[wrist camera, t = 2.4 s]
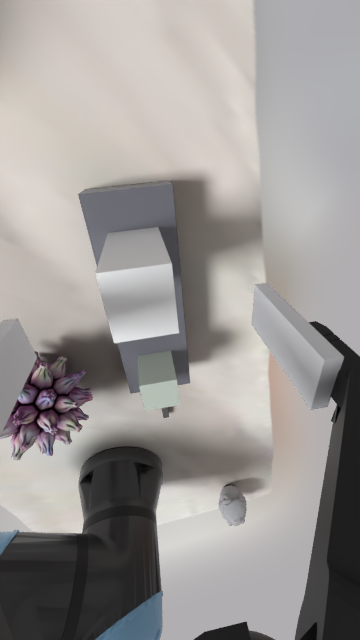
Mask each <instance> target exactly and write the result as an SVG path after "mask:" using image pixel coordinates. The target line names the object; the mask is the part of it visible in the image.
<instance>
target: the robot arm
mask: <svg viewBox="0 0 360 640" xmlns="http://www.w3.org/2000/svg"><path fill="white" fill-rule="evenodd" d="M252 326H253V327H254V329H255V330H256V332H257V333H258V334H259V336H260V337H261V339H262V340H263V342H264V343H265V345H266V346H267V347H268V349H269V350H270V352H271V353H272V355H273V356H274V357H275V359H276V360H277V362H278V363H279V365H280V366H281V368H282V369H283V371H284V372H285V374H286V375H287V376H288V378H289V379H290V381H291V382H292V383H293V385H294V386H295V388H296V389H297V391H298V392H299V394H300V395H301V397H302V398H303V399H304V401H305V402H306V404H307V405H308V407H309V408H310V410H312V409H318V408H323V407H327V406H328V404H329V401H330V398H331V397H332V398H333V400H334V401H335V402H336V403H337V406H336V409H335V411H334V414H333V417H332V420H331V421H332V422H333V427H332V432H331V439H330V445H329V451H328V457H327V463H326V469H325V475H324V481H323V487H322V494H321V499H320V506H319V512H318V518H317V525H316V530H315V537H314V543H313V549H312V554H311V560H310V567H309V573H308V579H307V585H306V591H305V596H304V600H303V603H302V607H301V610H300V615H299V619H298V624H297V630H296V636H295V640H360V357H359V356H358V355H357V354H356V353H355V352H354V351H353V350H352V349H351V348H350V347H348V346H347V345H346V344H345V343H344V342H343V341H342V340H340V338H338V337H337V336H336V335H334V333H333V332H332V331H331V330H330V329H328V328H327V327H326V326H324V325H322V324H320V323H318V322H316V321H315V322H307V320H305V319H304V318H303V317H302V316H301V315H300V314H299V313H298V312H297V311H296V310H295V309H294V308H293V307H292V306H291V305H290V304H289V303H288V302H287V301H286V300H285V299H284V298H283V297H282V296H281V295H280V294H279V293H278V292H277V291H275V290H274V289H273V288H272V287H271V286H270V285H269V284H268V283H262V284H255V287H254V300H253V313H252ZM36 359H37V356H36V354H35V352H34V350H33V348H32V346H31V344H30V342H29V340H28V338H27V336H26V334H25V332H24V330H23V328H22V326H21V324H20V322H19V320H18V318H17V319H10V320H3V321H2V322H1V324H0V436H1V434H2V432H3V429H4V427H5V425H6V423H7V421H8V419H9V417H10V415H11V412H12V410H13V408H14V406H15V404H16V402H17V400H18V397H19V395H20V393H21V391H22V389H23V387H24V385H25V383H26V380H27V378H28V376H29V374H30V372H31V370H32V368H33V366H34V363H35V361H36ZM162 478H163V474H162V464H161V461H160V459H159V458H158V457H157V456H156V455H155V454H153V453H152V452H150V451H147V450H144V449H140V448H134V447H121V448H114V449H109V450H106V451H103V452H100V453H98V454H96V455H94V456H93V457H91V458H90V459H88V460H87V461H86V462H85V463H84V465H83V466H82V468H81V471H80V477H79V493H80V499H81V505H82V511H83V517H84V524H83V532H82V534H76V533H37V532H19V530H15V531H13V532H0V640H159V639H160V637H161V633H162V596H163V592H162V591H161V578H160V565H159V551H158V538H157V525H156V508H157V503H158V498H159V494H160V489H161V484H162ZM194 640H274V639H273V638H271V637H269V636H267V635H264V634H261V633H258V632H254V631H249V630H248V626H247V622H243V623H239V624H235V625H231V626H227V627H223V628H219V629H215V630H211V631H207V632H204V633H203V634H201V635H200V636H198V637H197V638H195V639H194Z"/></svg>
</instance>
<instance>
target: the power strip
mask: <svg viewBox="0 0 360 640" xmlns="http://www.w3.org/2000/svg"><path fill="white" fill-rule="evenodd" d="M78 195H79V199H80V203H81V207H82V211H83V214H84V218H85V222H86V226H87V230H88V233H89V237H90V241H91V245H92V249H93V252H94V256H95V260H96V264H97V266H98V263H99V260H100V257H101V254H102V250H103V247H104V244H105V241H106V238H107V235H108V233H113V232H121V231H129V230H137V229H145V228H154V227H158V228H159V231H160V233H161V236H162V239H163V241H164V244H165V247H166V249H167V252H168V255H169V257H170V260H171V262H172V270H173V279H174V289H175V299H176V308H177V318H178V327H179V333H177V334H170V335H164V336H158V337H151V338H145V339H139V340H132V341H126V342H120V343H117V344H118V348H119V351H120V355H121V359H122V363H123V367H124V370H125V374H126V378H127V382H128V386H129V389H130V393H136V392H140V388H139V369H138V356H141V355H147V354H153V353H160V352H166V351H171V354H172V359H173V364H174V369H175V373H176V378H177V385H182V384H188V383H190V376H189V365H188V354H187V342H186V331H185V320H184V308H183V297H182V286H181V274H180V263H179V252H178V240H177V229H176V217H175V206H174V195H173V184H172V183H170V182H169V181H159V182H150V183H140V184H131V185H122V186H113V187H103V188H94V189H85V190H84V191H82V192H81V193H79V194H78ZM162 412H163V417H164V418H167V417H169V413H168V407H166V408H162Z"/></svg>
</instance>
